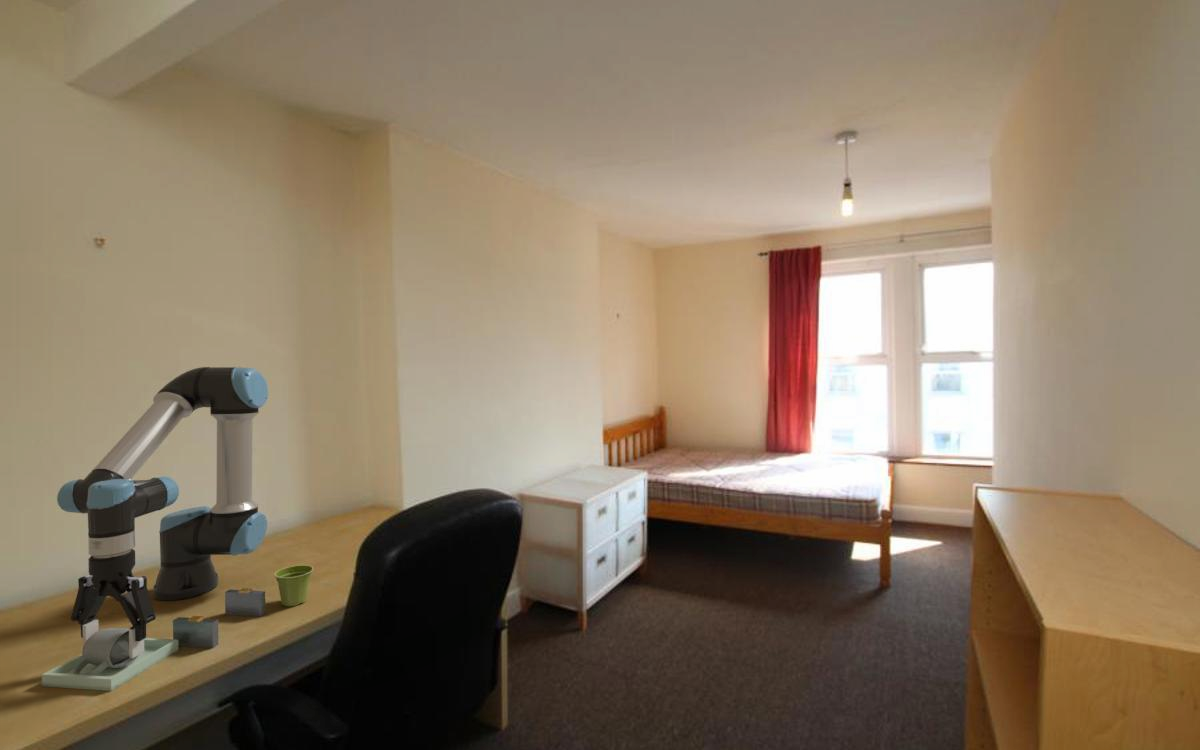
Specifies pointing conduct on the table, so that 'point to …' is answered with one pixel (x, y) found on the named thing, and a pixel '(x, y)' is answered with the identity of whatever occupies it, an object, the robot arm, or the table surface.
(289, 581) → the plant pot
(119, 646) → the ceramic mug
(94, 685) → the tray
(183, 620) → the grey cases
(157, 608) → the table surface
